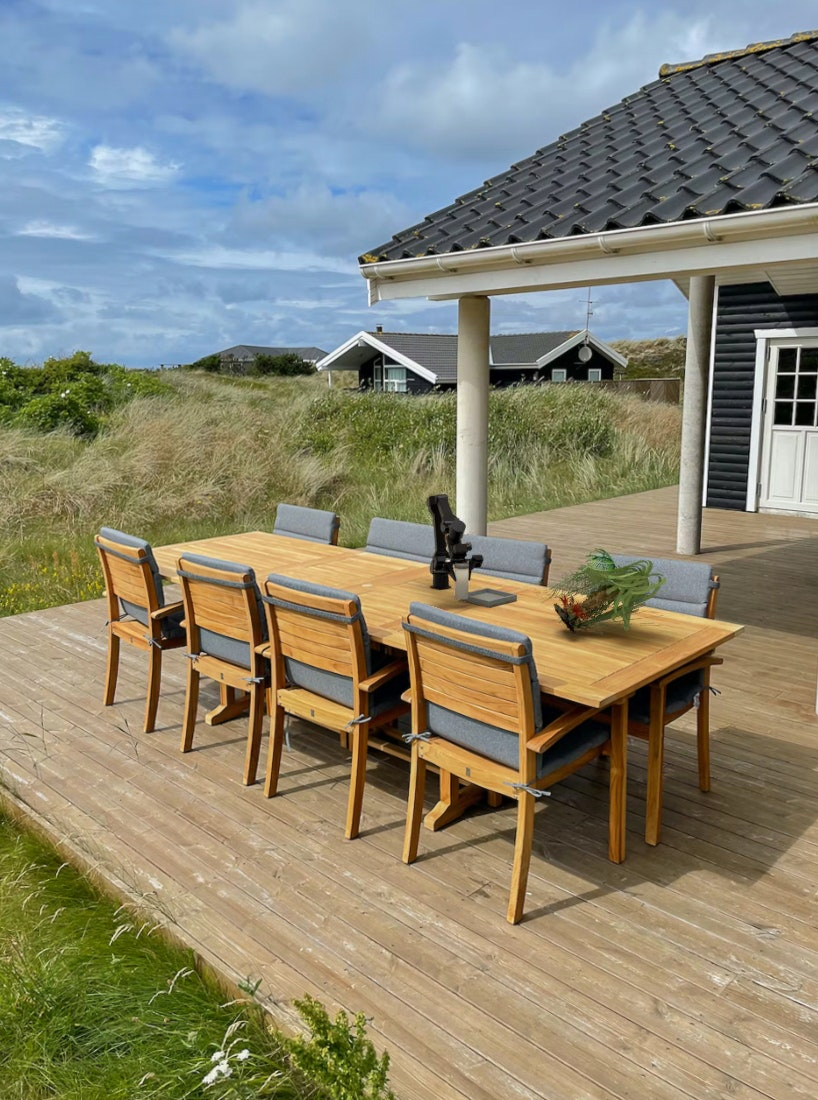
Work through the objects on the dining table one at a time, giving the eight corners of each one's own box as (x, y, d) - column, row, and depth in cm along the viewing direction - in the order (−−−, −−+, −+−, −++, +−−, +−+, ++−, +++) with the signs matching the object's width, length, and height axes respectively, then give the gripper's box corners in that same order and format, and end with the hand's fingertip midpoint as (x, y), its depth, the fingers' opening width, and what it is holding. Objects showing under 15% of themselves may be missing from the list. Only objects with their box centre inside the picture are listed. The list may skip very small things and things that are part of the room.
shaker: (451, 597, 331) (451, 563, 329) (461, 595, 335) (461, 561, 332) (461, 600, 328) (461, 565, 325) (471, 598, 331) (471, 563, 328)
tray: (459, 600, 342) (459, 594, 342) (487, 593, 353) (487, 587, 352) (489, 607, 331) (489, 601, 330) (516, 600, 341) (516, 594, 341)
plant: (534, 594, 318) (632, 544, 316) (580, 678, 303) (683, 626, 302) (524, 562, 286) (633, 507, 284) (575, 654, 272) (690, 596, 270)
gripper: (435, 535, 329) (442, 570, 320) (482, 533, 332) (490, 567, 324) (430, 552, 338) (437, 586, 329) (476, 550, 341) (484, 583, 333)
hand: (462, 580), depth 329 cm, fingers closed on shaker, 5 cm apart
